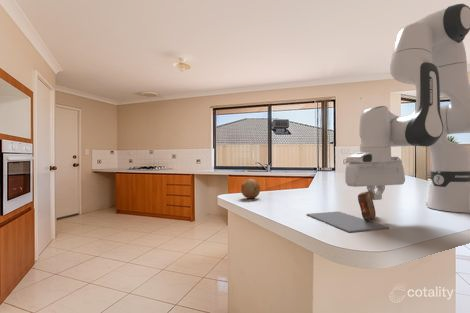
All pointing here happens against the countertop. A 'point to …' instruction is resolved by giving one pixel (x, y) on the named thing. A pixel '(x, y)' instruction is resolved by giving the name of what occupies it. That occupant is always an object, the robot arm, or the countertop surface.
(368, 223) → the rubber mat
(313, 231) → the countertop surface
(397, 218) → the countertop surface
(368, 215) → the tin
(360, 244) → the countertop surface
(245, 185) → the onion
